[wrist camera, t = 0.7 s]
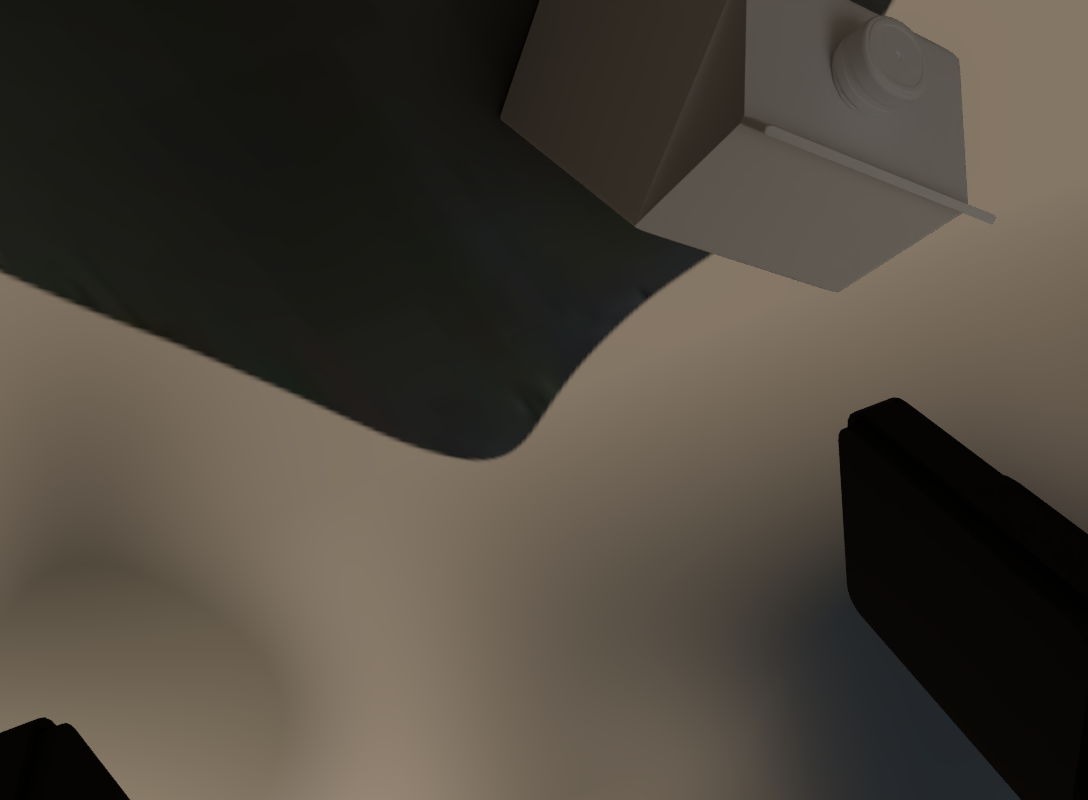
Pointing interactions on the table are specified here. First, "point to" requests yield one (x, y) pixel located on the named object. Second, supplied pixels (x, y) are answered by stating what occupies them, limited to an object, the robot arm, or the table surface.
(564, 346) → the table surface
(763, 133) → the milk carton
